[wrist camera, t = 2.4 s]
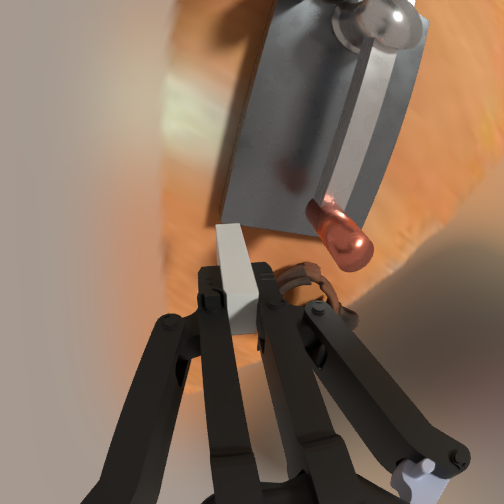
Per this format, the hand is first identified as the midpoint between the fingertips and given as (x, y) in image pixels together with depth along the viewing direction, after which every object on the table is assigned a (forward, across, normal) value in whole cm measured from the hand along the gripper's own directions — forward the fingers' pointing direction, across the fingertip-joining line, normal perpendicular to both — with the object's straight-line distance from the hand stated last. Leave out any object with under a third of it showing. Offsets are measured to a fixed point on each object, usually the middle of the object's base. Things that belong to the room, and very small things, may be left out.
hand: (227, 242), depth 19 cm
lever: (+6, +10, +10) cm, 15 cm away
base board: (+9, +9, +9) cm, 15 cm away
